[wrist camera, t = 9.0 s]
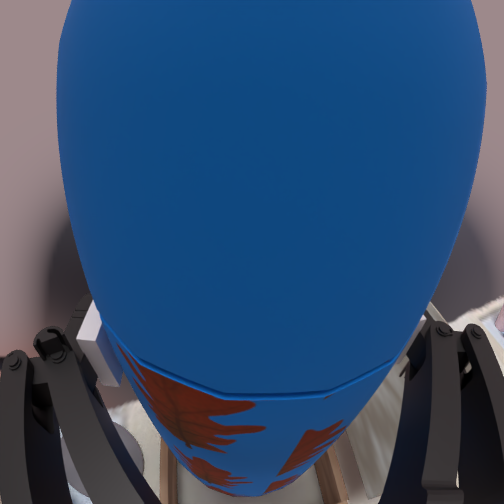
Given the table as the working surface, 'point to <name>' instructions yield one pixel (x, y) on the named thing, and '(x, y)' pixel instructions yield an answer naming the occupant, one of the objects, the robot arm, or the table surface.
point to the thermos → (265, 206)
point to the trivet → (129, 444)
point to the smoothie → (500, 321)
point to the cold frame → (360, 435)
